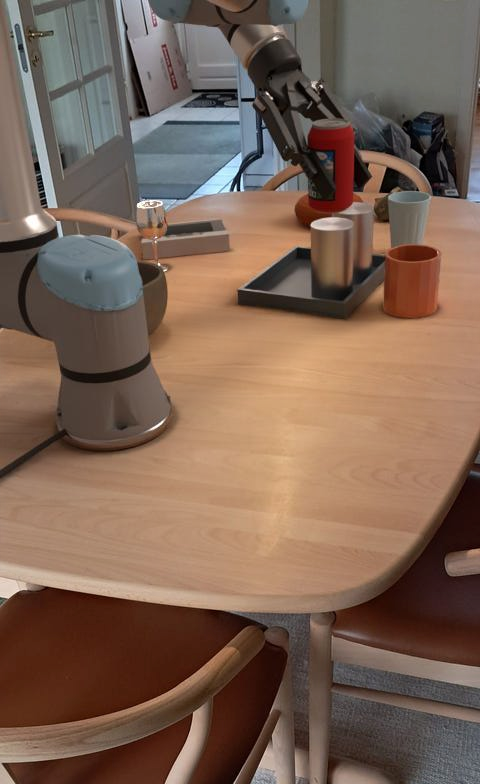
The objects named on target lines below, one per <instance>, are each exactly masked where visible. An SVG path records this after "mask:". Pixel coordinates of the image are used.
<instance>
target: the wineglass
mask: <svg viewBox="0 0 480 784" xmlns="http://www.w3.org/2000/svg"><path fill="white" fill-rule="evenodd" d="M135 211H136V213H135V222H136V223H135V224H136V228H137V232H138V234H139V235H140V237H141V238H142V237H144V238H146V239H150V240H153V242H152V247H153V249H154V253H155V258H154V264H157V265H159V266H161V267H162V269H163V270H164V272H166V271H168V270H169V269H170V266H169V265H168V264H164V263H160V262H159V258H157V242H156V239H159V238H161V237H162V236H163V235H164V234H165V233H166V231H167V226H168V224H169V222H168V217H167V212H166V209H165V207H164V204H163V201H160V200H145V201H141V202H139V203H137V205H136V210H135Z"/></svg>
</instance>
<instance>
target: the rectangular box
mask: <svg viewBox="0 0 480 784" xmlns="http://www.w3.org/2000/svg"><path fill="white" fill-rule="evenodd" d="M140 241H141V242H140V243H141V250H142V257H143V261H145V260H153V259H154V260H155V253H154V249H153V247H152V242H153V240H150V239H146V238H144V237H142V236H141V240H140ZM156 242H157V258H158V259H164V258H173V257H182V256H183V257H184V256H192V255H193V256H194V255H201V254H202V255H203V254H213V253H220V252H221V253H222V252H230V250H231V248H230V234H229V231H227V230H226V228H225V225H224V223H223V219H222V218H212V219H202V220H192V221H182V222H181V221H180V222H172V223H171V222H170V223H168V226H167V231H166V233H165V234H164V235H163V236H162V237H161V238H159V239H156Z"/></svg>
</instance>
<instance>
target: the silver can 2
mask: <svg viewBox="0 0 480 784" xmlns="http://www.w3.org/2000/svg"><path fill="white" fill-rule="evenodd" d="M374 214H375V212H374V205H372V204H371V203H368V202H364V203H362V202H353V204H352V205H351V206H350V207H348V208H347V209H346V210H345V211H342V212H339V213H332V217H338V218H346V219H350V220H352V221H353V222H354V260H353V284H361V283H362V282H363V281H364V280H365V279H367V278H368V277H369V276H370V275H371V274H372V254H373V247H374V218H375V217H374Z"/></svg>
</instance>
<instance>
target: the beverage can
mask: <svg viewBox="0 0 480 784" xmlns="http://www.w3.org/2000/svg"><path fill="white" fill-rule="evenodd" d="M306 143H307V146H308V151H307V152H308V153H309V152H310V151H311V150H314V151H315V152H316V154H317V155H318V157H319V159H320V160H321V162H322V164H323V165H324V167H325V168H326V170H327V172H328V173H329V175H330V177H331V178H332V180H333V182H334V183H335V185H336V187H337V189H336V191H335V192H334V193H333V194H332V195H331V197H330V198H329V199H328V200H326V201H324V200H323V198H322V197H321V195H320V193H319V192H318V190H317V188H316V187H315V185H314V184H313V182H312V180H309V179H308V178H307V194H308V204H309V206H310V207H311V208H313V209H314V210H315V211H317V212H319V213H328V214H330V213H339V212H342V211H345V210H346V209H347V208H348V207H350V206H351V205H352V204H353V193H354V189H355V187H354V185H355V182H354V144H355V137H354V132H353V130H352V128H351V126H350V121H349V120H347V119H339V118H331V119H321V120H317V121H314V122H311V126H310V129H309V131H308V133H307V140H306Z"/></svg>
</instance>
